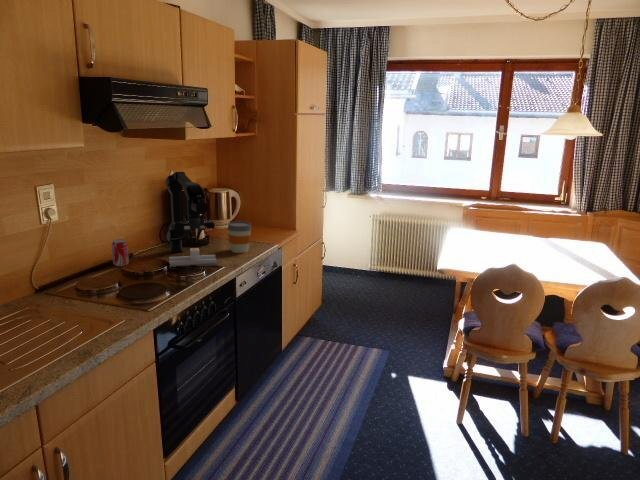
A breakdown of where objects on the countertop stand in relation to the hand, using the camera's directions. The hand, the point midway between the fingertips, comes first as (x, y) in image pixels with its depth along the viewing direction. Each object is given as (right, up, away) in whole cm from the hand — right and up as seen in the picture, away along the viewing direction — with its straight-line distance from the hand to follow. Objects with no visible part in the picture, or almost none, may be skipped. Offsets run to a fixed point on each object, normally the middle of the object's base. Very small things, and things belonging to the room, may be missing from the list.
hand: (194, 242), depth 228 cm
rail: (-1, -11, +2) cm, 11 cm away
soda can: (-34, -11, -3) cm, 36 cm away
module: (0, -9, +2) cm, 10 cm away
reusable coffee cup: (+17, -5, +29) cm, 34 cm away
